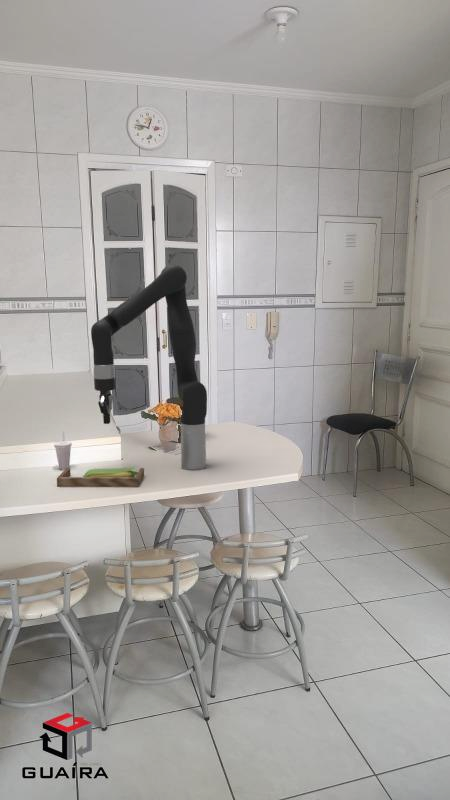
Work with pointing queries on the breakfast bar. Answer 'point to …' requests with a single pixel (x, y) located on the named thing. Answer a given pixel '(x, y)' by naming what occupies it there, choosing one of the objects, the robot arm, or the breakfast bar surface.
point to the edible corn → (111, 472)
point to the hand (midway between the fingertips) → (107, 423)
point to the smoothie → (63, 453)
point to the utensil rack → (98, 480)
